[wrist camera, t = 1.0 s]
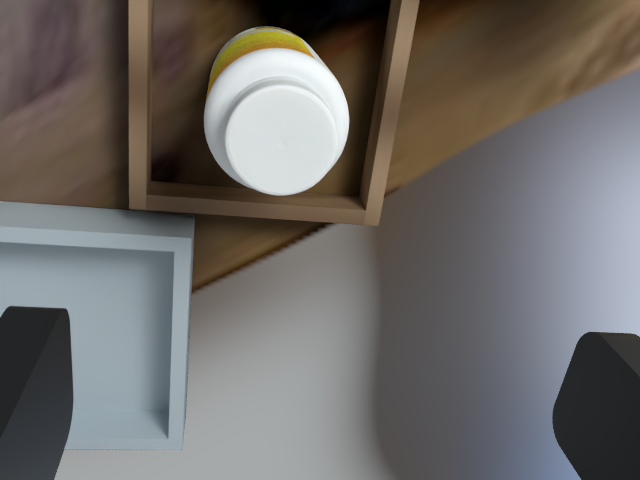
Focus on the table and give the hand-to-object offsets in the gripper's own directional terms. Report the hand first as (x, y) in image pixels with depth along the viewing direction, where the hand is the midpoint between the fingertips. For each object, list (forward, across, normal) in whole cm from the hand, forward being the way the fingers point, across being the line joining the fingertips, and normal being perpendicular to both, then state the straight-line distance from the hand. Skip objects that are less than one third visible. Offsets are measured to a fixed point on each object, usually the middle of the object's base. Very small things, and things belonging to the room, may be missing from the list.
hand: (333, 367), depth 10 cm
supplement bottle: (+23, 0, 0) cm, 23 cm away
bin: (+23, +10, +14) cm, 29 cm away
